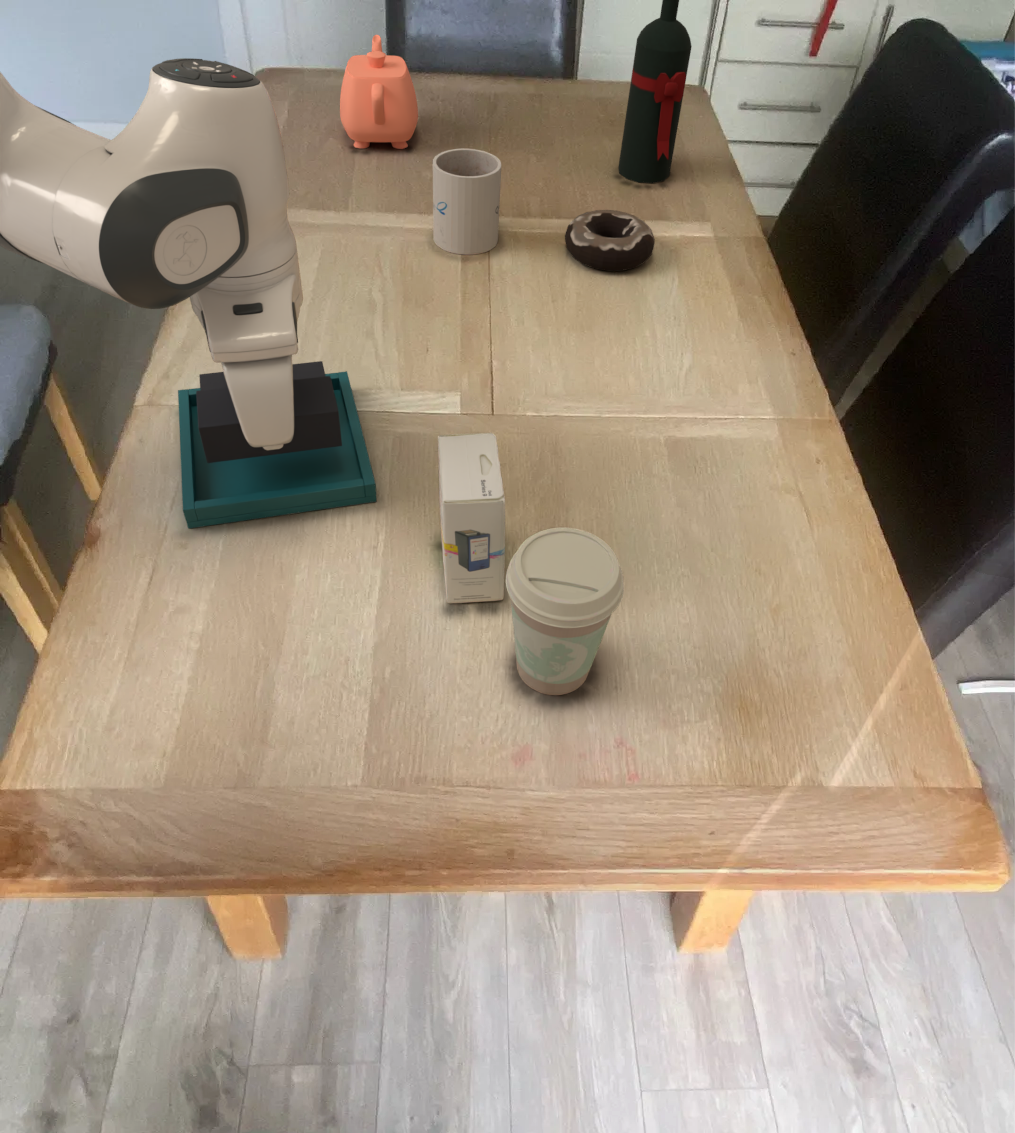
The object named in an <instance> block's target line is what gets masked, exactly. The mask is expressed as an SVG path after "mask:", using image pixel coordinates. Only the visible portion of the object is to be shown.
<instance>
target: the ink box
mask: <svg viewBox="0 0 1015 1133" xmlns="http://www.w3.org/2000/svg"><path fill="white" fill-rule="evenodd" d="M497 441H498V439H497V436H496V435H495V434H494V433H493V432H475V433H453V434H439V435H437V445H438V448H437V451H438V452H437V453H438V454H437V455H438V457H437V460H438V462H437V463H438V497H439V499H438V500H439V519H440V520H439V522H440V534H441V550H442V551H441V552H442V564H443V574H444V589H445V598H446V600H445V602H446V603H447V604H462V603H479V602H481V603H482V602H496V601H503V600H504V597H505V596H504V595H505V561H506V560H505V559H506V558H505V557H506V554H505V553H506V499H505V490H504V485H503V477H502V471H501V461H500V457H499V446H498V442H497Z"/></svg>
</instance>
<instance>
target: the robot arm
mask: <svg viewBox="0 0 1015 1133" xmlns="http://www.w3.org/2000/svg"><path fill="white" fill-rule="evenodd" d="M265 86H266V85H265V84H264V83H263V81H262V80H260V78H257V77H256V76H255V74H253V73H250V72H249V71H247V70H244V69H242V68H239V67H236V66H235V65H231V64H228V63H225V62H221V61H217V60H209V59H202V58H194V57H193V58H191V57H190V58H189V57H188V58H187V57H185V58H184V57H182V58H172V59H166V60H163V61H162V62H160V63H159V62H158V63H157V64H155V65H153V66H152V68H151V69H150V71H149V78H148V88H147V92H146V94H145V96H144V98H143V100H142V102H141V103H140V105H139V108H138V109H137V111H136V112H135V114H134V115H133V116H132V118H131V120H130V121H129V122H128V123H127V124H126V125H125V127H124V128H123V129H122V130H121V131H120V132H119V133H117V135H116V136H115V137H114V138H112V139H110V138H107V137H104V136H102V135H101V134H98V133H94V132H92V131H90V130H87V129H84V128H82V127H80V126H78V125H76V124H74V123H72V122H71V121H69V120H67V119H65V118H63V117H60V116H59V115H57V114H54V113H52V112H50V111H48V110H47V109H44V108H41V107H39V106H37V105H36V104H33V103H31V102H30V101H28V99H26V98H25V97H23V95H21V94H20V93H19V92H18V91H17V90H16V89H15V88H14V87H13V86H12V85H11V84H10V82H9V80H8V79H7V78H6V77H5V76H4V74H3V73H2V72H1V71H0V247H2V248H3V249H5V250H7V251H9V252H11V253H13V254H15V255H18V256H21V257H24V258H27V259H30V260H32V261H36V262H38V263H40V264H44V265H47V266H49V267H51V268H53V269H55V270H56V271H59V272H61V273H63V274H65V275H67V276H69V277H71V278H73V279H75V280H77V281H79V282H81V283H83V284H85V285H88V286H90V287H93V288H95V289H97V290H99V291H100V292H102V293H105V294H107V295H109V296H112V297H114V298H116V299H118V300H119V301H123V302H124V303H128V304H131V305H133V306H135V307H138V308H141V309H145V310H146V309H147V310H161V309H166V308H171V307H173V306H175V305H178V304H180V303H182V302H184V301H186V300H187V299H189V301H190V305H191V310H192V311H193V313H194V315H195V316H196V317H197V319H198V321H199V323H200V325H201V327H202V328H203V330H204V333H205V336H206V341H207V345H208V349H209V352H210V356H211V360H212V361H213V362H214V363H220V365H221V368H222V372H224V376H225V379H226V382H227V386H228V389H229V392H230V395H231V398H232V401H233V405H234V408H235V411H236V414H237V417H238V420H239V423H240V426H241V429H242V432H243V434H244V436H245V439H246V440H247V442H248V443H249V445H250V446H252V447H263V448H264V449H265V450H274V449H280V448H282V447H283V444H286V443H289V442H291V441H292V439H293V435H294V394H293V367H292V364H293V355H294V356H295V355H297V354H298V352H299V345H298V344H299V338H298V337H299V336H298V320H299V317H300V312H301V307H302V305H303V302H304V293H303V285H302V277H301V270H300V269H301V268H300V260H299V254H298V246H297V240H296V235H295V233H294V231H293V229H292V226H291V225H290V221H289V217H288V205H289V201H290V184H289V175H288V174H289V173H288V167H287V161H286V153H285V149H284V143H283V137H282V133H281V128H280V124H279V121H278V117H277V114H276V109H275V107H274V105H273V101H272V99H271V97H270V94H269V92H268V89H267V88H266V87H265Z"/></svg>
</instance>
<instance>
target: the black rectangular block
mask: <svg viewBox="0 0 1015 1133" xmlns="http://www.w3.org/2000/svg"><path fill="white" fill-rule="evenodd" d="M292 367H293V380H298V379H307V378H316V377H325V374H326V372H325V367H324V362H323V361H322V360H319V361H310V362H301V363H292ZM198 377H199V388H200V390H209V389H218V388H227V387H228V386H227V382H226V379H225V376H224V372H223V371H217V372H209V373H208V372H207V373H200V374H199V376H198Z"/></svg>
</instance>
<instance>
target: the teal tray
mask: <svg viewBox="0 0 1015 1133" xmlns="http://www.w3.org/2000/svg"><path fill="white" fill-rule="evenodd" d="M325 376H330V377H331V381H332V385H333V390H334V394H335V398H336V403H337V407H338V412H339V421H340V430H341V439H342V446H337V447H330V448H322V449H314V450H306V451H299V452H291V453H283V454H275V455H268V456H260V457H252V458H244V459H237V460H229V461H221V462H214V463H207V460H206V456H205V452H204V448H203V444H202V440H201V436H200V433H199V429H198V413H197V397H196V391H200V387H194V388H186V389H178V390H177V398H178V400H177V402H178V403H177V404H178V421H179V424H178V425H179V448H180V451H179V452H180V473H181V498H182V500H181V501H182V512H183V516H184V519H185V522H186V526H187V528H188V529H195V528H203V527H210V526H215V525H216V526H217V525H222V524H223V525H224V524H231V523H236V522H237V523H238V522H244V521H251V520H257V519H259V520H260V519H264V518H273V517H279V516H287V515H293V514H300V513H306V512H307V513H308V512H315V511H322V510H328V509H334V508H342V507H350V506H354V505H363V504H368V503H376V502H377V501H378V500H377V498H378V497H377V486H376V480H375V476H374V473H373V468H372V464H371V460H370V457H369V453H368V448H367V444H366V440H365V436H364V433H363V432H364V431H363V429H362V426H361V425H362V424H361V421H360V418H359V413H358V409H357V405H356V402H355V398H354V393H353V390H352V386H351V381H350V378H349V374H348V371H346V370H345V371H338V372H330V373H325Z"/></svg>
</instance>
